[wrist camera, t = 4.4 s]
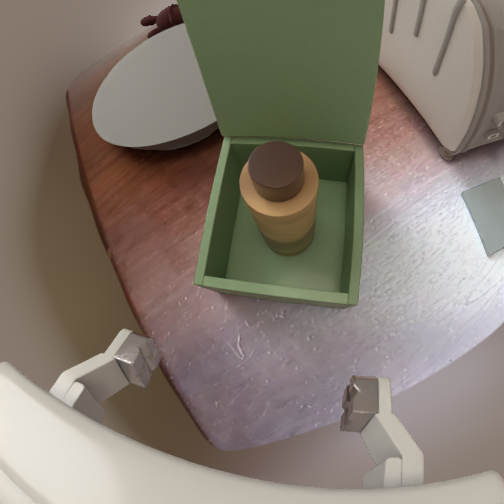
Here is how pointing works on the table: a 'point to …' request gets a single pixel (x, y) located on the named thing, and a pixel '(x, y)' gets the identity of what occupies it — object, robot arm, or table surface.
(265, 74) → the box lid
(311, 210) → the pepper mill
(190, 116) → the flat disc
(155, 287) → the table surface
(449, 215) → the table surface
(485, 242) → the tile
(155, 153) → the table surface
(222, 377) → the table surface
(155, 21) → the gnome figurine
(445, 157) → the toaster
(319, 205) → the green box
